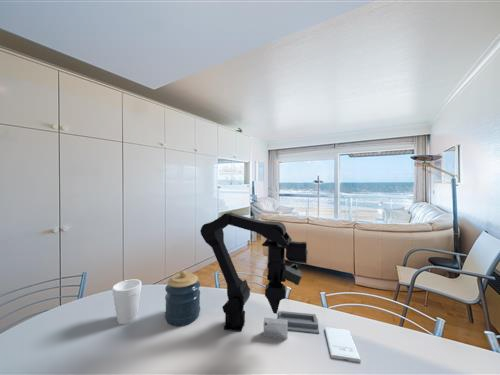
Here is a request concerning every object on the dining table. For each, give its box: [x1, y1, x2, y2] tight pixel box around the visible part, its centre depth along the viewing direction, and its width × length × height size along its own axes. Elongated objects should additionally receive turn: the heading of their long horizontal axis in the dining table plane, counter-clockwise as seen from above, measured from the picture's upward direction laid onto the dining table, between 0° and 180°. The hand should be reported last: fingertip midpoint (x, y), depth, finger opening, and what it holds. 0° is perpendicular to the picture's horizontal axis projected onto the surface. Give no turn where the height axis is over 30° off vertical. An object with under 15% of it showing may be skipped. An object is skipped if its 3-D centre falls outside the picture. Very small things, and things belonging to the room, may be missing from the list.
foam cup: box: [112, 278, 143, 325], centre depth 79 cm, size 10×9×13 cm
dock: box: [278, 310, 320, 334], centre depth 78 cm, size 14×10×2 cm
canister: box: [164, 270, 201, 327], centre depth 81 cm, size 13×13×18 cm
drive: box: [263, 317, 289, 340], centre depth 71 cm, size 8×2×5 cm, turn 82°
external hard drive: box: [324, 326, 362, 363], centre depth 67 cm, size 2×8×12 cm
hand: (275, 305), depth 71 cm, fingers open, 9 cm apart
